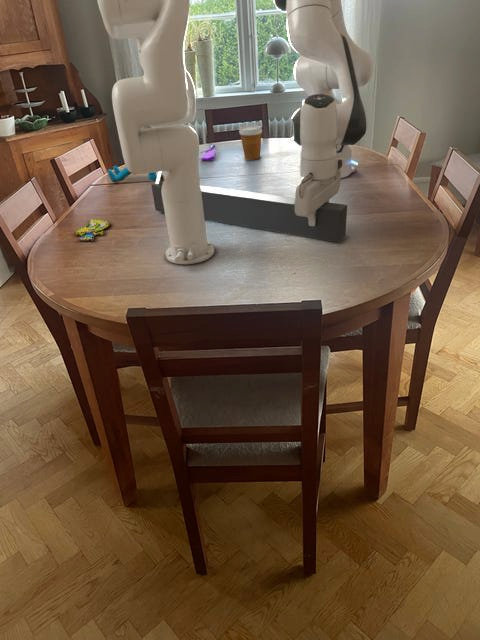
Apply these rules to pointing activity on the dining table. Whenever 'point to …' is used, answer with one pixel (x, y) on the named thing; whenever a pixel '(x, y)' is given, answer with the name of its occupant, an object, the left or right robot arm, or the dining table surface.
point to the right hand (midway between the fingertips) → (317, 220)
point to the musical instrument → (209, 154)
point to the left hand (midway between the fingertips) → (176, 200)
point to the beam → (267, 212)
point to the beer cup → (251, 141)
